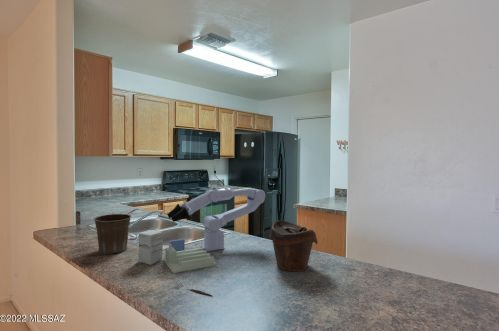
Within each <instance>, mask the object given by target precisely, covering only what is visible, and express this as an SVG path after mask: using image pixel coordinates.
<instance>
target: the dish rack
mask: <svg viewBox="0 0 499 331" xmlns="http://www.w3.org/2000/svg"><path fill="white" fill-rule="evenodd" d="M164 249H165V256H164V257H165V258H162V261H163V262H164V263H165V264H166V266H167V267H168V268H169V270H170V271H171V272H172V274H175V273H182V272H186V271H188V272H189V271H192V270H197V269H198V270H199V269H203V268H209V267H214V266H217V262H216V261H215V256H211V253H208V252H207V251H206V250H204V249H203V248H202V247H198V248H192V249H191V248H190V249H185V250H184V251H177V252H176V250H175V249H174V248H173V247H172V244H169V243H168V247H165V248H164Z"/></svg>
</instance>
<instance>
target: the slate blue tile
mask: <svg viewBox="0 0 499 331" xmlns="http://www.w3.org/2000/svg"><path fill="white" fill-rule="evenodd" d="M169 244H172V247H173V248H174V249H175V250H176V252H177V251H184V250H186V249H185V248H186V247H185V244H186V243H185V239H184V238H180V239H173V240H169V241H168V245H169Z"/></svg>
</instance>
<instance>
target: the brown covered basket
mask: <svg viewBox="0 0 499 331" xmlns="http://www.w3.org/2000/svg"><path fill="white" fill-rule="evenodd" d="M269 239H270V240H272V245H273V246H272V247H273V251H274V256H275V262H276V266H277V267H278V268H279V269H281V270H283V271H286V272H302V271H305V270H307V269H308V266H309V260H310V256H311V252H312V249H313V243H315V244H316V245H317V244H318V237H317V233H316V232H315V230H314V229H308V228H307V227H305V226H303V227H302V226H300V225H298V224H294V223H292V222H289V221H285V220H277V221H275V222H274V223H273V224H272V225H271V228H270V232H269Z"/></svg>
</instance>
